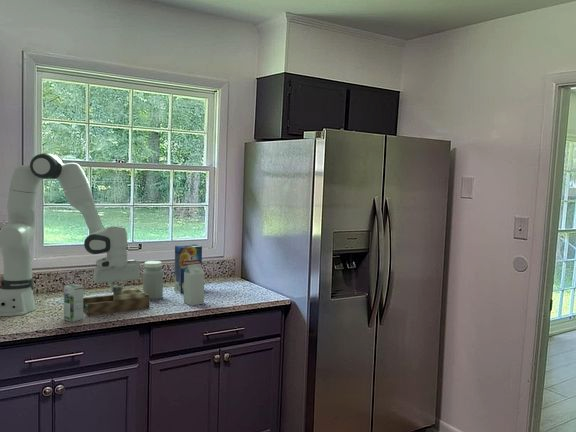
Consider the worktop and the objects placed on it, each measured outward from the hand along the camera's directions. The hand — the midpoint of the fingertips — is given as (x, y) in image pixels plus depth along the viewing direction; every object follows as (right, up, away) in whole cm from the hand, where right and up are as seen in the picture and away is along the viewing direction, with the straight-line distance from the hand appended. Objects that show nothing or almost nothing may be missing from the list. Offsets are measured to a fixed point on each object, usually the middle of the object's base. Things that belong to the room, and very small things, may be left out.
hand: (116, 290), depth 238 cm
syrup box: (-12, -10, -18) cm, 24 cm away
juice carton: (+25, -6, +38) cm, 46 cm away
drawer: (+4, -7, +4) cm, 9 cm away
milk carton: (+32, -8, +14) cm, 36 cm away
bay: (-1, -8, +1) cm, 8 cm away
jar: (+11, -7, +21) cm, 25 cm away
